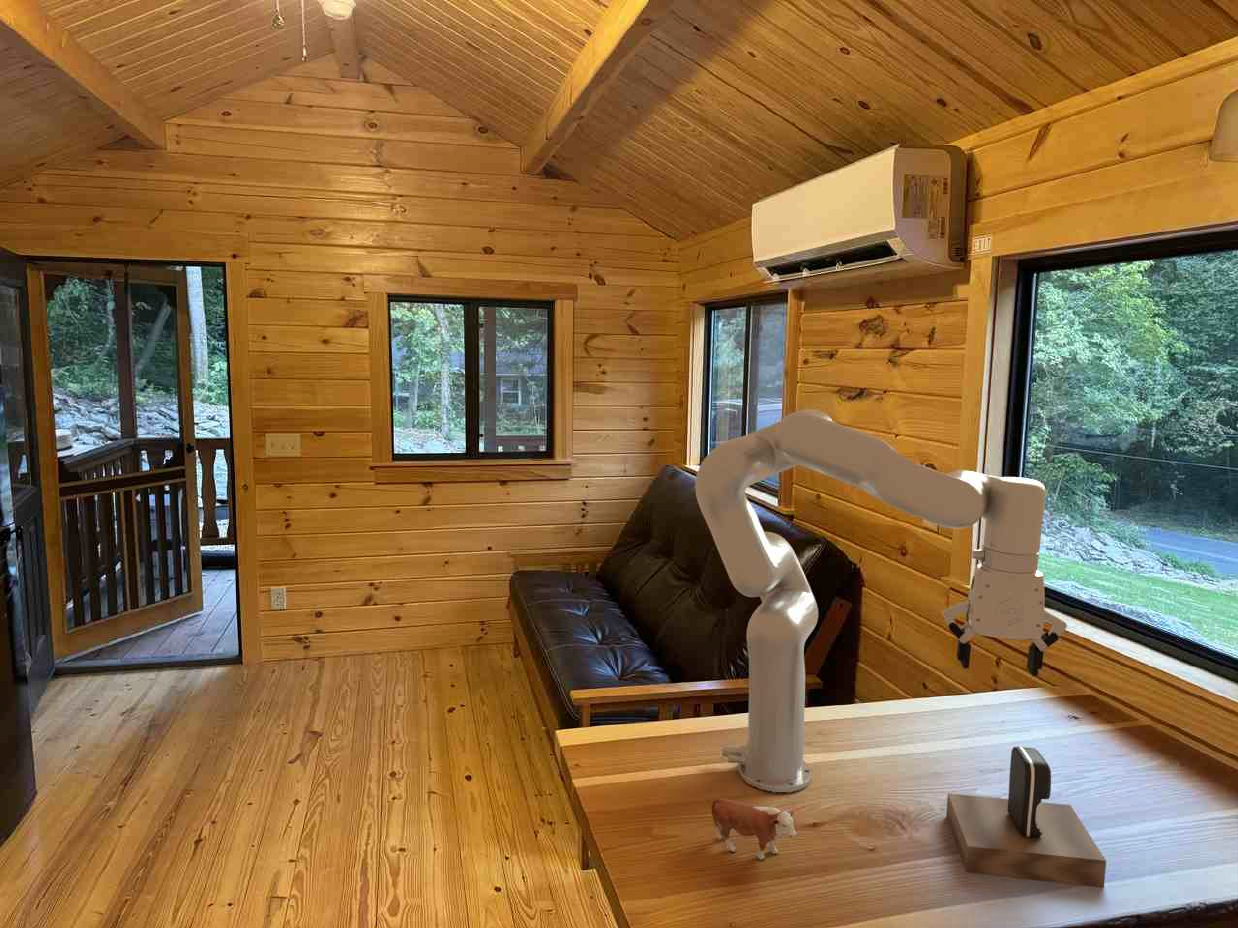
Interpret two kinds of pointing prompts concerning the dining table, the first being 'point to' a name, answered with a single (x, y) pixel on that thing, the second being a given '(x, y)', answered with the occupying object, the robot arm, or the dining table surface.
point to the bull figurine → (751, 823)
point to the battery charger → (1027, 788)
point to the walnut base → (1024, 842)
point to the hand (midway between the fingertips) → (997, 668)
